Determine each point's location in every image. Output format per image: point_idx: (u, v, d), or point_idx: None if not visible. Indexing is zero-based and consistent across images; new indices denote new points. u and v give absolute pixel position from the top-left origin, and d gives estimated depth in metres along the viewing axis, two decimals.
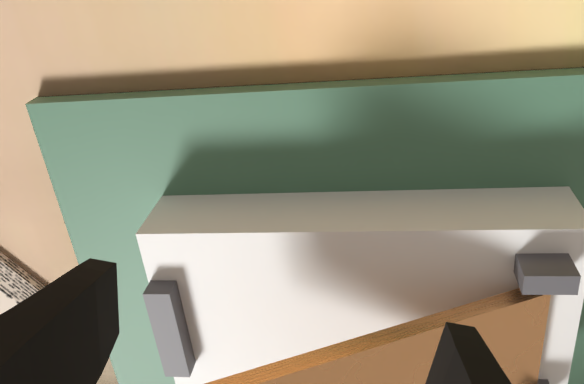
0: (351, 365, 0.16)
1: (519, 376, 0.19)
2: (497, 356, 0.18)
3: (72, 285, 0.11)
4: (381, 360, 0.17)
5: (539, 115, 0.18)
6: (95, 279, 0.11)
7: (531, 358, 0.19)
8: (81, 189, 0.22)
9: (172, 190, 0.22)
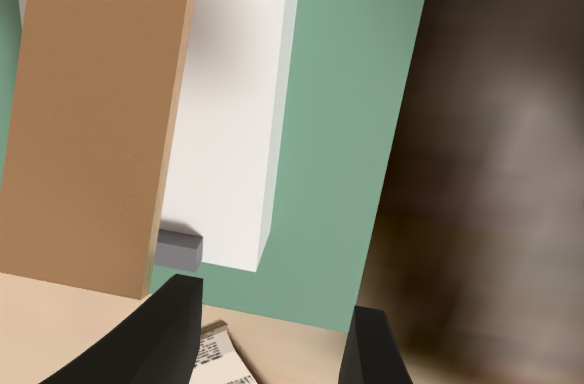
0: (32, 72, 0.14)
1: None
2: None
3: (169, 303, 0.10)
4: (44, 34, 0.14)
5: None
6: (189, 296, 0.11)
7: None
8: None
9: None
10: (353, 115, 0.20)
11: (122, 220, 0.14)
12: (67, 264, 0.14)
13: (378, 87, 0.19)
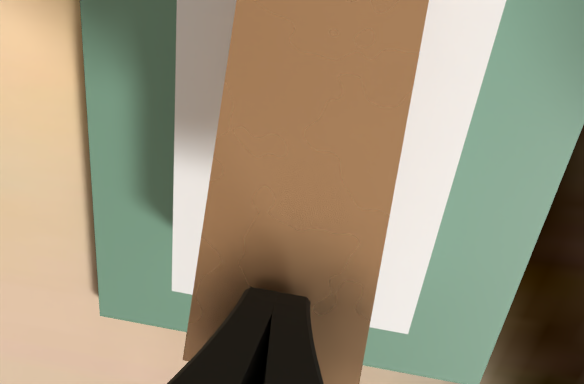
0: (235, 138, 0.12)
1: None
2: None
3: (253, 318, 0.10)
4: (249, 96, 0.12)
5: None
6: (270, 311, 0.11)
7: None
8: (183, 309, 0.23)
9: None
10: (516, 162, 0.18)
11: (337, 305, 0.12)
12: None
13: (550, 132, 0.17)
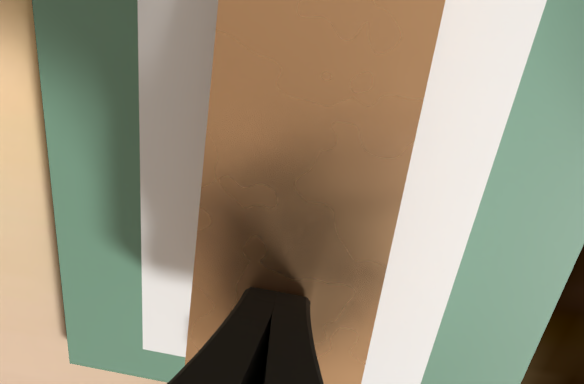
0: (220, 189, 0.11)
1: None
2: None
3: (253, 318, 0.10)
4: (234, 145, 0.11)
5: None
6: (270, 311, 0.11)
7: None
8: (162, 358, 0.20)
9: None
10: (541, 203, 0.15)
11: (331, 349, 0.12)
12: None
13: (581, 171, 0.15)
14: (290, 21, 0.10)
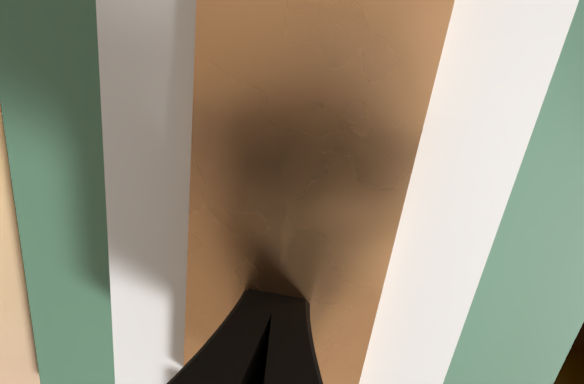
0: (209, 215, 0.11)
1: None
2: None
3: (252, 318, 0.10)
4: (221, 173, 0.10)
5: None
6: (270, 311, 0.11)
7: None
8: None
9: None
10: (556, 239, 0.14)
11: (327, 362, 0.12)
12: None
13: None
14: (275, 48, 0.09)
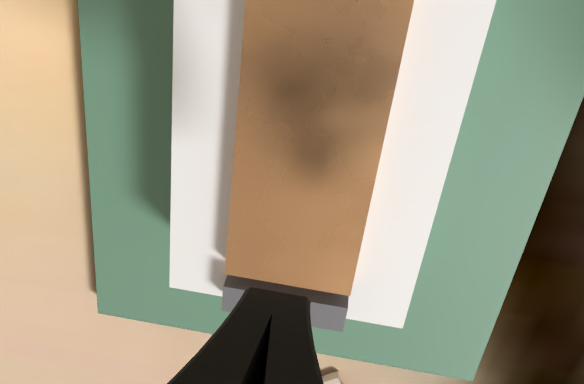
0: (251, 125, 0.15)
1: None
2: None
3: (253, 318, 0.10)
4: (260, 92, 0.15)
5: None
6: (271, 311, 0.11)
7: None
8: (181, 306, 0.23)
9: None
10: (508, 158, 0.18)
11: (335, 242, 0.16)
12: (289, 271, 0.17)
13: (541, 129, 0.18)
14: (301, 0, 0.13)
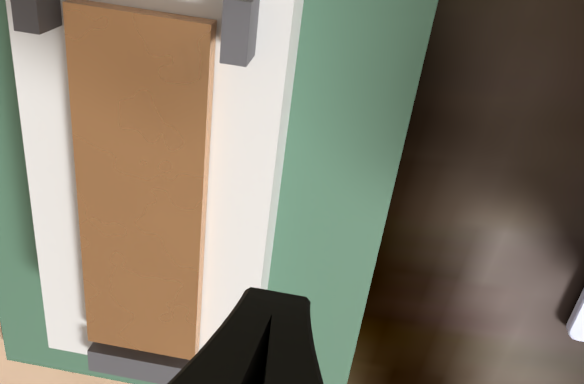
0: (91, 224, 0.18)
1: (184, 51, 0.15)
2: (137, 79, 0.15)
3: (253, 318, 0.10)
4: (95, 200, 0.17)
5: None
6: (270, 311, 0.11)
7: (159, 33, 0.15)
8: (78, 355, 0.26)
9: None
10: (339, 239, 0.21)
11: (174, 317, 0.19)
12: (140, 339, 0.20)
13: (362, 216, 0.20)
14: (116, 131, 0.16)
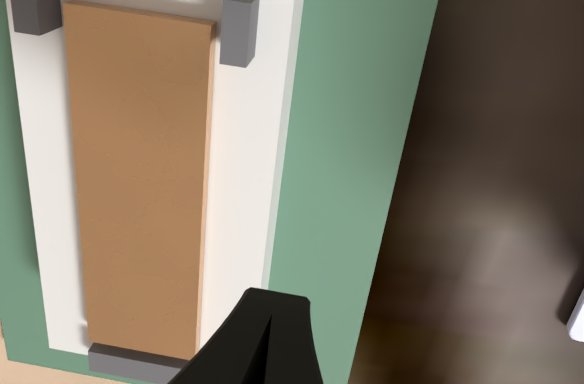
0: (91, 225, 0.18)
1: (185, 52, 0.15)
2: (137, 80, 0.15)
3: (253, 318, 0.10)
4: (95, 200, 0.17)
5: None
6: (270, 311, 0.11)
7: (159, 34, 0.15)
8: (79, 355, 0.26)
9: None
10: (339, 239, 0.21)
11: (174, 317, 0.19)
12: (141, 340, 0.20)
13: (362, 216, 0.20)
14: (116, 132, 0.16)
